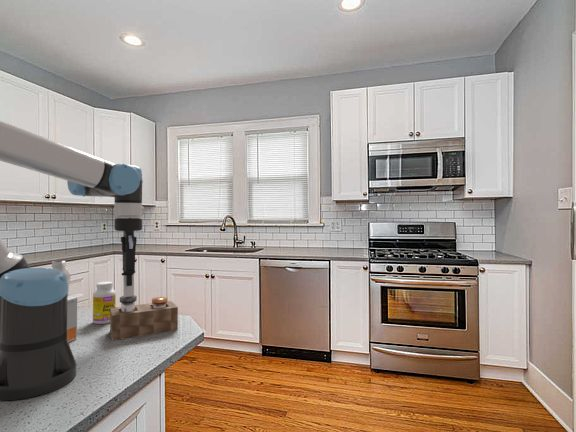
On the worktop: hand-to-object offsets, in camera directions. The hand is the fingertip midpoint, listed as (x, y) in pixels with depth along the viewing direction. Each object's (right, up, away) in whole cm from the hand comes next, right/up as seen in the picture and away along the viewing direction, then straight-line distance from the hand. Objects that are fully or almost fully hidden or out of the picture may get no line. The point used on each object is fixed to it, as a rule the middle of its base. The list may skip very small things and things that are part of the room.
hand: (128, 296), depth 103 cm
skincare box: (-15, -11, -8) cm, 20 cm away
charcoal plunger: (0, -9, 0) cm, 9 cm away
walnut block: (+4, -11, +2) cm, 12 cm away
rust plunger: (+8, -11, +5) cm, 14 cm away
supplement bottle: (-13, -11, +11) cm, 20 cm away
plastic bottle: (-28, -11, +10) cm, 32 cm away
